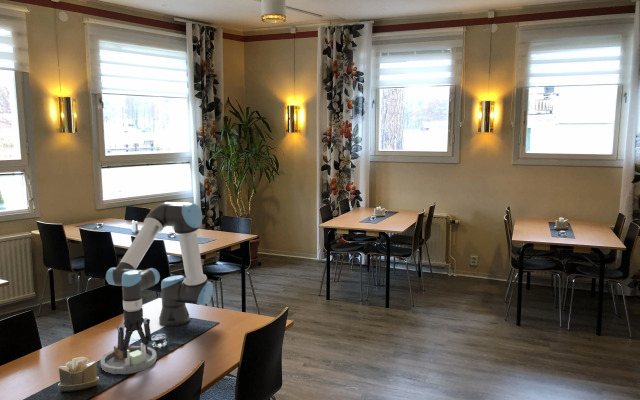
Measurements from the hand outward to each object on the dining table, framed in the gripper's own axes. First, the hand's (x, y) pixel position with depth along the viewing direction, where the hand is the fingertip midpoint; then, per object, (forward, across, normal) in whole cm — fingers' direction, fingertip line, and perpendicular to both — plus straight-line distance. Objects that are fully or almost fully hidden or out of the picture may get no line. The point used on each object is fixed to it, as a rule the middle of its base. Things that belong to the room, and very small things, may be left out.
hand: (135, 361), depth 218 cm
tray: (+2, 0, +6) cm, 6 cm away
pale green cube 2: (+1, 0, -1) cm, 1 cm away
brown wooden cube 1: (+1, 0, +11) cm, 11 cm away
